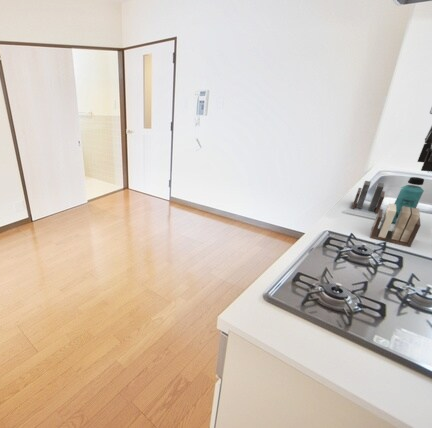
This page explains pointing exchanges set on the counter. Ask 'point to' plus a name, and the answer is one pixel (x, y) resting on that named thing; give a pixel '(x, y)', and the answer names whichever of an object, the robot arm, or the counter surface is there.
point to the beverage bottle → (409, 196)
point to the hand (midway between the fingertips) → (424, 166)
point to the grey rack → (376, 198)
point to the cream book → (387, 220)
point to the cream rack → (400, 227)
